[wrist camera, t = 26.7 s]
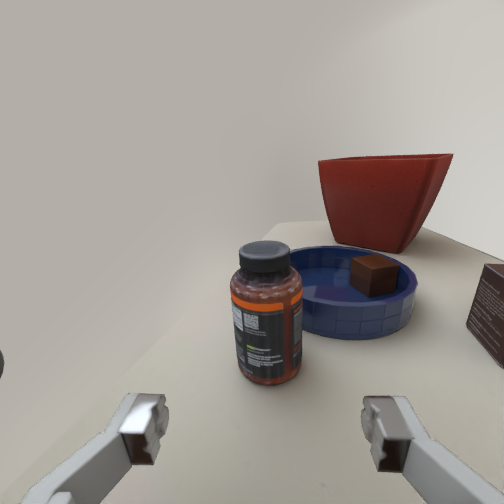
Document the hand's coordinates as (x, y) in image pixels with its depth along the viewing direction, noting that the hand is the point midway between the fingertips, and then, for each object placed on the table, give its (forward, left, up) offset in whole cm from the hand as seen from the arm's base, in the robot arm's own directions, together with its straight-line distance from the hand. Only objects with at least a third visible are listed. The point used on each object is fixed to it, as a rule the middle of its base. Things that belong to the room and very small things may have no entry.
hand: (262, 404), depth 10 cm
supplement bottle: (+5, +10, -9) cm, 14 cm away
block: (+22, +16, -8) cm, 28 cm away
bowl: (+17, +17, -8) cm, 26 cm away
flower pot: (+39, +32, -9) cm, 51 cm away
